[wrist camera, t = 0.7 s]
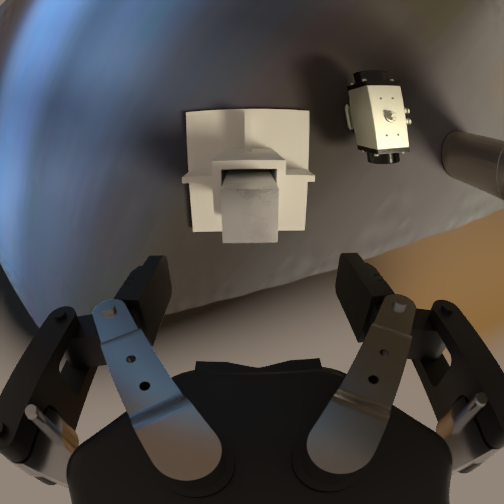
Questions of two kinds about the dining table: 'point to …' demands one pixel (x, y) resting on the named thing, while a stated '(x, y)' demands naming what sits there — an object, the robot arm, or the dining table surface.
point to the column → (249, 206)
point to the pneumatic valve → (378, 116)
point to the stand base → (247, 159)
